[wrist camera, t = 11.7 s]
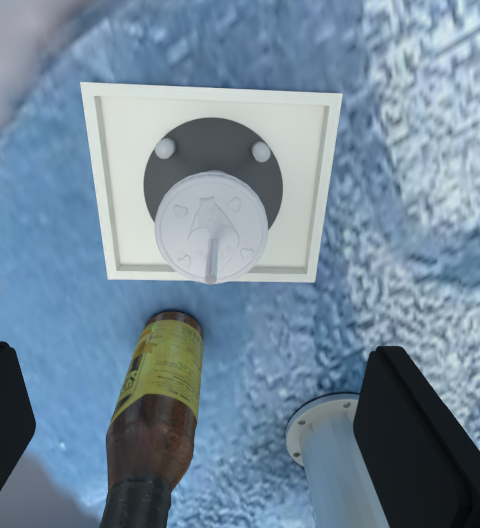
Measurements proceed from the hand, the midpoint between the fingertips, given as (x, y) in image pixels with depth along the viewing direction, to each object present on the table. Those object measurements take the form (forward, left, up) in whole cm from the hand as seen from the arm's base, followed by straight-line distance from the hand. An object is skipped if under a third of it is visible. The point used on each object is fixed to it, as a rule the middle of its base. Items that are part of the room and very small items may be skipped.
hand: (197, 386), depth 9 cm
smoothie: (0, 0, -21) cm, 21 cm away
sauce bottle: (-15, +4, -22) cm, 27 cm away
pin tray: (0, 0, -22) cm, 22 cm away
